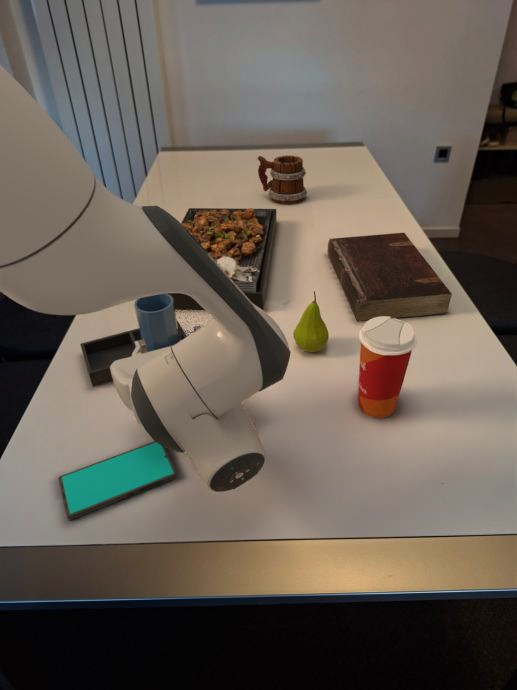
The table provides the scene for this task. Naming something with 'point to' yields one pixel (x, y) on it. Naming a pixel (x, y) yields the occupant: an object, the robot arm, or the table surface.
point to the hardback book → (387, 277)
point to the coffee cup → (383, 364)
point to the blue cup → (157, 321)
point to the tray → (111, 353)
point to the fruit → (311, 329)
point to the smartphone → (115, 479)
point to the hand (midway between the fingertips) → (169, 336)
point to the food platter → (234, 247)
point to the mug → (284, 179)
